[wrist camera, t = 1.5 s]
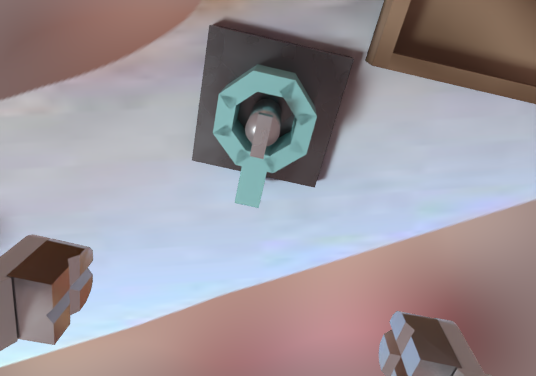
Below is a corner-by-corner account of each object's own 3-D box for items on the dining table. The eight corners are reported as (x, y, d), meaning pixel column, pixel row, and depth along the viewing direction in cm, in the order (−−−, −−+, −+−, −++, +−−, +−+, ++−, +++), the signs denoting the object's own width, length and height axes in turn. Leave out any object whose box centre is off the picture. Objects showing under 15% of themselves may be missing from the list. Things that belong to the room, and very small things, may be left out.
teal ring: (230, 58, 25) (223, 63, 23) (321, 79, 25) (325, 87, 23) (211, 179, 29) (203, 196, 27) (289, 196, 30) (289, 214, 27)
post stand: (212, 24, 25) (192, 28, 20) (351, 57, 26) (365, 69, 21) (195, 155, 30) (174, 185, 25) (313, 182, 30) (318, 217, 25)
